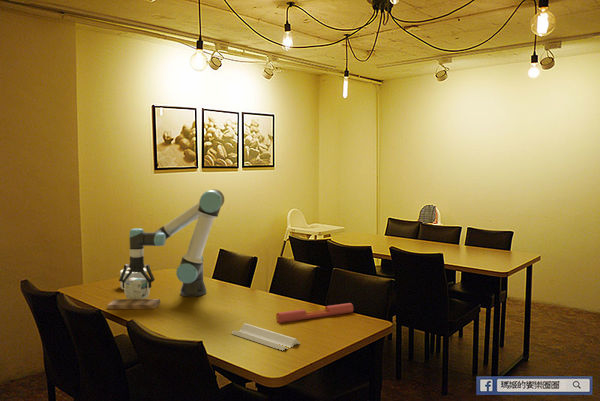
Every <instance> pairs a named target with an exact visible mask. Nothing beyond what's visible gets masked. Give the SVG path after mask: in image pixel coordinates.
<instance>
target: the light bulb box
mask: <svg viewBox="0 0 600 401" xmlns="http://www.w3.org/2000/svg"><path fill="white" fill-rule="evenodd" d="M147 283H148V281H147V280H146V279H142V278H134V277H133V278H130V279H127V280H126V294H125V299H148V298H149V294H147Z"/></svg>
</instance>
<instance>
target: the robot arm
mask: <svg viewBox="0 0 600 401" xmlns="http://www.w3.org/2000/svg"><path fill="white" fill-rule="evenodd" d="M224 203H225V195H224V194H223V192H221V191H220V190H218V189H210V190H207V191H204V192H203V193H202V195H201V196H200V198H199V200H198V202H197V203H196V204H193V205H192V206H191V207H190V208H188V209H186V210H185V211H183V212H182V213H180V214H179V215H177V216H176V217H175V218H173V219H171V220H170V221H169V222H167V223H166V224H164V225H162V226H160V228H158V229H157V230H155V231H152V232H145V231H144V229H143V228H131V229H130V230H129V237H128V238H129V241H128V242H129V264H127V263H125V264H124V265H123V269H124V270H123V269H122V270H123V272H122V274H121V277H120V276H119V279H118V281H119V282H120V283H121V282H122V283H123V288H124V289H123V292H124V295H126V280H127V279H128V277H129V276H130V275H131V273H132V272H134V273H135V272H137V273H139V272H141V274H142V275H143V276H144V277H145V278H146V280H147V281H148V283H147V294H148V295H149V294H150V293H151V292H150V290H151V288H152V282H155V280H156V279H155V276H154V274H153V272H152V270H151V264H145V258H144V253H145V249H144V248H145V246H149V247H150V246H151V247H163V246H165V245H166V241H167V240H168V239H169V238H171V237H172V236H174V235H175V234H176V233H178V232H179V231H181V230H182V229H184V228H185V227H187V226H188V225H190V224H192V223H193V222H195V221H196V220H197V221H196V223H195V226H194V230H193V233H192V234H191V238H190V241H189V244H188V247H187V251H186V254H183V255H182V257H181V260H180V262H179V265H178V267H177V269H176V272H175V273H176V277H177V279H178V280H179V281H180V282H181V283H182V284H181V288H180V291H179V292H180V295H181V296H183V297H191V298H192V297H193V298H194V297H200V296H203V295H206V294H207V287H206V284H205V280H204V256H203V253H204V250H205V247H206V244H207V241H208V239H209V236H210V232H211V229H212V225H213V223H214V220H215V219H217V218H218V217H219V213H220V211H221V207H222V206H223V205H224ZM128 268H130V269H131V270H130V272H129V273H128V274H127V276H126V277H125V278H124V275H125V273H126V270H127V269H128ZM143 268H145V269H146V272H145V271H144V269H143ZM123 278H124V279H123Z"/></svg>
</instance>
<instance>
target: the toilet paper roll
mask: <svg viewBox="0 0 600 401" xmlns="http://www.w3.org/2000/svg"><path fill="white" fill-rule="evenodd" d="M143 269H144V271H145V272H146V273H147V269H146V268H145V267H144V268H143ZM123 270H124V268H123V269H121V270H120V271H119V274H120V276H119V278H120V277H121V274H122V272H123ZM130 270H131V269H130V268H129V267H128V269H127V270H126V273H125V275H124V278H125V277H126V276H127V274H128V273H129V272H130ZM133 277H134V278H142V279H146V278H145V277H144V276H143V275H142V274H141V272H139V273H137V272H135V273H134V272H132V273H131V275H130V276H129V277H128V279H130V278H133ZM124 278H123V279H124ZM120 289H122V290H124V288H123V283H122V282H121V281H120Z"/></svg>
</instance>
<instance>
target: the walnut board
mask: <svg viewBox="0 0 600 401" xmlns="http://www.w3.org/2000/svg"><path fill="white" fill-rule="evenodd" d="M160 304H161V299H160V298H145V299H130V298H122V299H121V298H117V299H116V298H115V299H113V300H112V301H111V302H109V303H108V304H107V310H124V309H125V310H151V309H152V310H156V309H157V307H158V306H159V305H160Z"/></svg>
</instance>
